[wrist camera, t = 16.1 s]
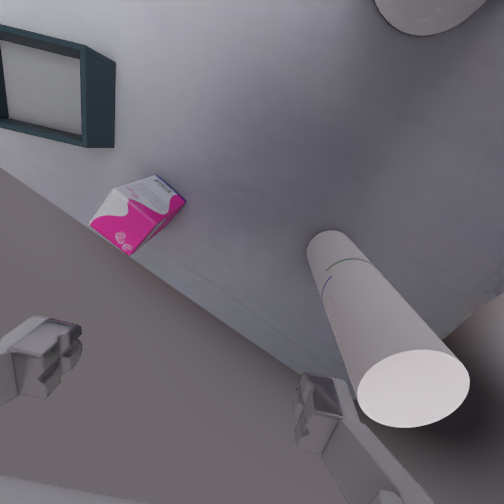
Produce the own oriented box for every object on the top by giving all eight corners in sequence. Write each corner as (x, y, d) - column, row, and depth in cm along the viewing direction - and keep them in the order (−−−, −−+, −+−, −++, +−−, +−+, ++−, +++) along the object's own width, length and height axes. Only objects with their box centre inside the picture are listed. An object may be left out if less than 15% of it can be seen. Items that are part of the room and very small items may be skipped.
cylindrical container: (298, 262, 42) (337, 406, 18) (320, 222, 39) (399, 333, 16) (337, 279, 42) (422, 439, 19) (362, 241, 40) (494, 374, 17)
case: (5, 122, 36) (-43, 117, 31) (-7, 32, 32) (-63, 8, 27) (114, 147, 37) (86, 147, 31) (115, 62, 33) (85, 45, 27)
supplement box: (133, 202, 39) (84, 223, 29) (156, 173, 38) (113, 183, 27) (164, 228, 41) (128, 257, 30) (187, 201, 39) (158, 222, 28)
